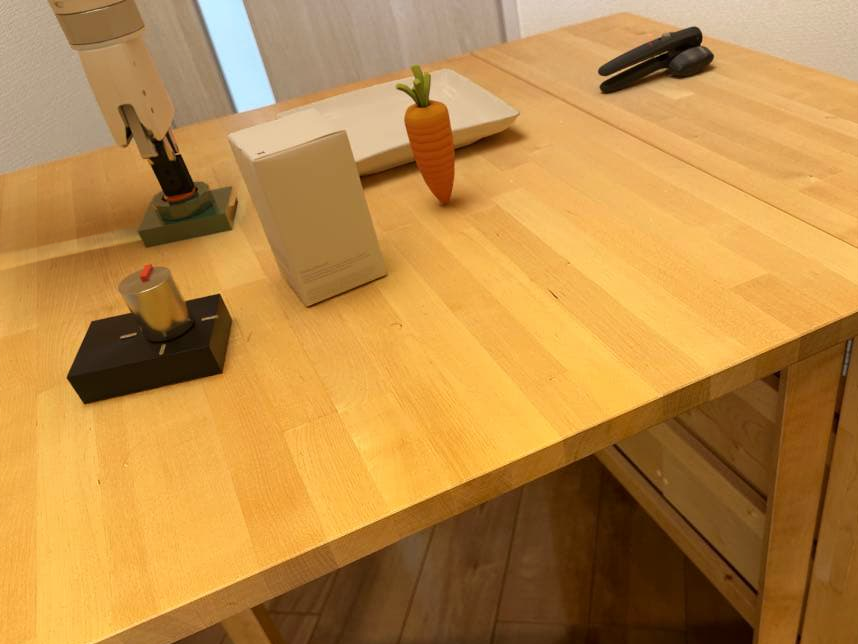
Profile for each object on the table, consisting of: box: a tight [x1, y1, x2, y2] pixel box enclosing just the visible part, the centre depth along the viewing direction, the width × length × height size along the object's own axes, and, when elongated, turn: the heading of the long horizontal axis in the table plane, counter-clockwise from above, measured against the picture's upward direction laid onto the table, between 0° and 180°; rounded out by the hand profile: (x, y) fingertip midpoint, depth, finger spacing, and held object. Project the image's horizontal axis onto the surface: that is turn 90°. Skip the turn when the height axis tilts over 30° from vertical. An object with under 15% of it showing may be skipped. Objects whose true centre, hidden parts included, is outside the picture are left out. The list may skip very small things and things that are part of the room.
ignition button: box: [164, 187, 196, 202], centre depth 90 cm, size 4×4×2 cm
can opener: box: [597, 25, 715, 93], centre depth 109 cm, size 18×7×6 cm, turn 114°
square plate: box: [275, 68, 521, 177], centre depth 104 cm, size 27×27×4 cm
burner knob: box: [117, 263, 194, 342], centre depth 67 cm, size 4×4×5 cm
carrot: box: [396, 64, 456, 205], centre depth 83 cm, size 5×5×15 cm
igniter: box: [137, 181, 239, 249], centre depth 91 cm, size 10×8×4 cm
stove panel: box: [66, 293, 233, 405], centre depth 69 cm, size 12×9×3 cm
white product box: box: [227, 108, 388, 307], centre depth 74 cm, size 9×9×15 cm
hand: (180, 191), depth 89 cm, fingers closed
